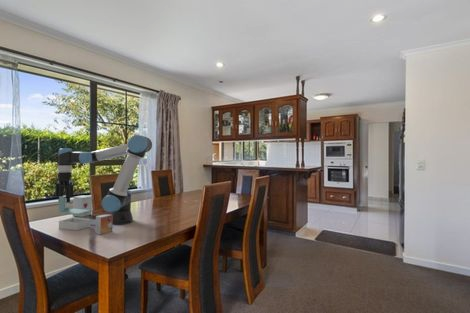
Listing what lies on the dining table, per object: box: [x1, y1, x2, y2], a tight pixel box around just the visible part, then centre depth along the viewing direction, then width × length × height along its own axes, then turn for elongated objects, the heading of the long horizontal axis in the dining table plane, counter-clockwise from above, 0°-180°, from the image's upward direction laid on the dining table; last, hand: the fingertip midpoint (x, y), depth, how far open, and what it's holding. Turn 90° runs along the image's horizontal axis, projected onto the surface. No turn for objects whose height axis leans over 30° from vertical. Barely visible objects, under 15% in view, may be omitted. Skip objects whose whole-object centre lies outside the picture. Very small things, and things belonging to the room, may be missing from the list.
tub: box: [58, 216, 91, 232], centre depth 158 cm, size 14×10×5 cm
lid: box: [58, 194, 93, 216], centre depth 159 cm, size 19×11×11 cm, turn 77°
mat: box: [89, 218, 96, 226], centre depth 172 cm, size 16×12×1 cm
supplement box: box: [72, 195, 93, 218], centre depth 190 cm, size 9×9×15 cm
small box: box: [94, 213, 114, 235], centre depth 151 cm, size 8×6×10 cm
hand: (64, 207), depth 160 cm, fingers closed on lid, 4 cm apart
